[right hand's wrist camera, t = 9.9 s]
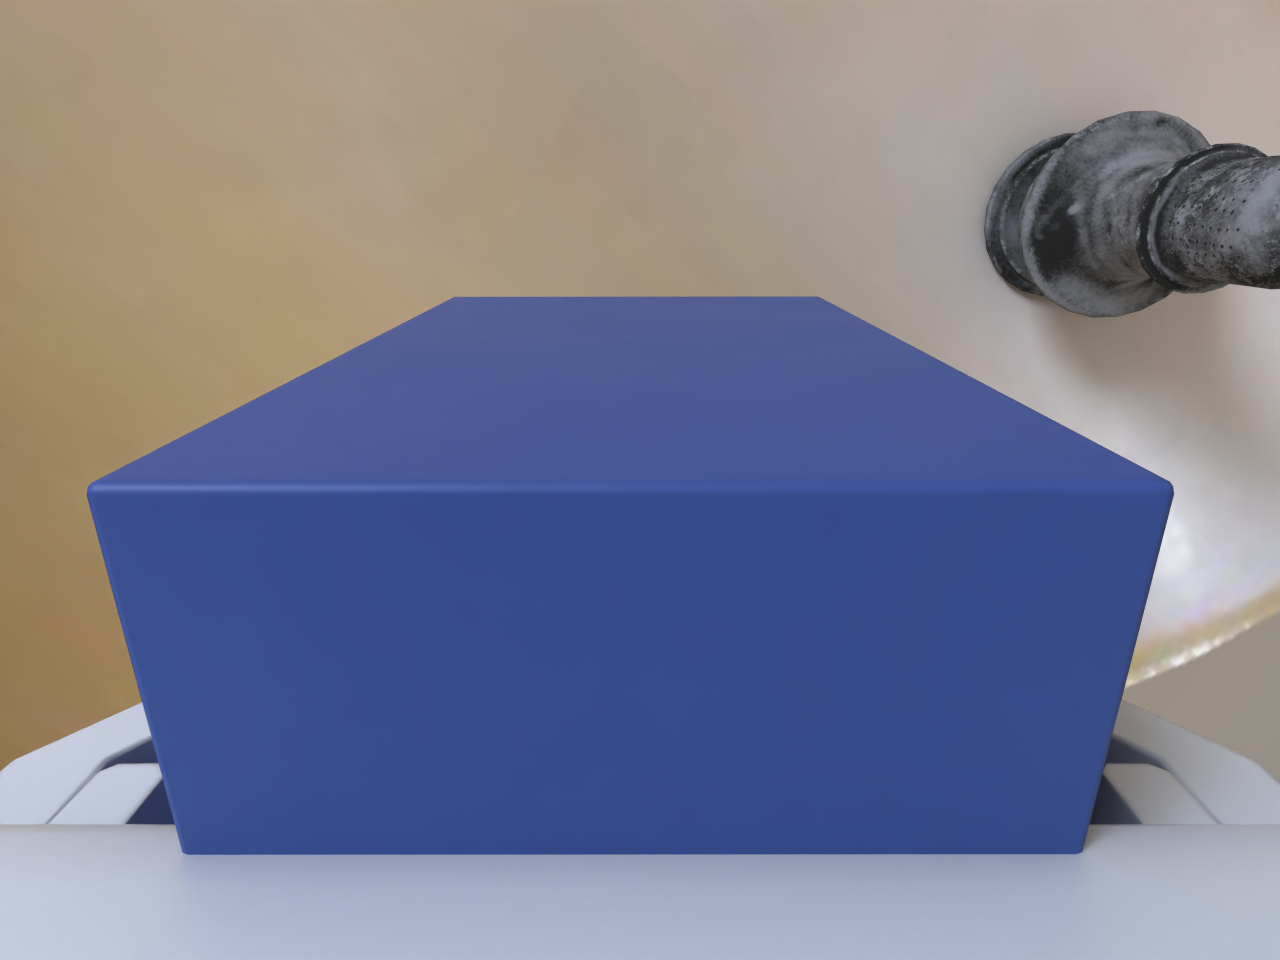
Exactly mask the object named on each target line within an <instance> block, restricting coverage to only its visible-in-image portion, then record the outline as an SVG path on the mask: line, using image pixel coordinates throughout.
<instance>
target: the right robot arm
mask: <svg viewBox="0 0 1280 960" xmlns="http://www.w3.org/2000/svg"><path fill="white" fill-rule="evenodd" d="M0 960H1280V781H1278V780H1277V779H1276V778H1275V777H1274V776H1273V775H1272V774H1271V773H1270V772H1269V771H1267V770H1266V769H1265V768H1264V767H1263V766H1262V765H1261V764H1260V763H1259V762H1258V761H1255V760H1253V759H1251V758H1249V757H1247V756H1244V755H1242V754H1240V753H1238V752H1236V751H1234V750H1231V749H1229V748H1227V747H1225V746H1223V745H1220V744H1218V743H1216V742H1214V741H1211V740H1209V739H1207V738H1205V737H1203V736H1201V735H1198V734H1196V733H1194V732H1192V731H1190V730H1187V729H1185V728H1183V727H1181V726H1179V725H1176V724H1174V723H1172V722H1170V721H1168V720H1166V719H1163V718H1161V717H1159V716H1157V715H1155V714H1152V713H1150V712H1148V711H1146V710H1143V709H1141V708H1139V707H1137V706H1135V705H1133V704H1130V703H1128V702H1126V701H1124V700H1122V699H1121V703H1120V707H1119V711H1118V714H1117V718H1116V722H1115V726H1114V730H1113V734H1112V738H1111V742H1110V746H1109V750H1108V754H1107V757H1106V761H1105V765H1104V769H1103V773H1102V777H1101V781H1100V785H1099V789H1098V793H1097V797H1096V800H1095V804H1094V808H1093V812H1092V816H1091V820H1090V824H1089V828H1088V832H1087V836H1086V840H1085V843H1084V847H1083V851H1082V852H1081V853H1078V854H711V855H187V854H185V853H182V849H181V845H180V842H179V838H178V834H177V830H176V827H175V823H174V819H173V816H172V812H171V808H170V804H169V801H168V797H167V793H166V789H165V786H164V782H163V778H162V774H161V771H160V767H159V763H158V759H157V756H156V752H155V748H154V744H153V741H152V737H151V733H150V730H149V726H148V722H147V718H146V715H145V711H144V707H143V703H139V704H137V705H135V706H133V707H131V708H128V709H126V710H124V711H122V712H119V713H117V714H115V715H113V716H111V717H108V718H106V719H104V720H102V721H99V722H97V723H95V724H93V725H91V726H88V727H86V728H84V729H82V730H79V731H77V732H75V733H73V734H71V735H68V736H66V737H64V738H62V739H59V740H57V741H55V742H53V743H51V744H48V745H46V746H44V747H42V748H39V749H37V750H35V751H33V752H31V753H28V754H26V755H24V756H22V757H19V758H17V759H15V760H13V761H12V762H11V763H10V764H8V765H7V766H6V767H5V768H4V769H3V770H2V771H1V772H0Z"/></svg>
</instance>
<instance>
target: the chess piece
mask: <svg viewBox="0 0 1280 960" xmlns="http://www.w3.org/2000/svg"><path fill="white" fill-rule="evenodd" d="M984 232H985V240H986V247H987V251H988V253H989V256H990V258H991V260H992V262H993V265H994V267H995V268H996V269H997V270H998V272H999V273H1000V274H1001V275H1002V276H1003V277H1004V278H1005V280H1006V281H1008V282H1009V283H1011V284H1012V285H1014V286H1016V287H1017V288H1019V289H1021V290H1022V291H1026V292H1030V293H1034V294H1038V295H1042V296H1046V297H1047V298H1048V299H1049V300H1051V301H1052V302H1054V303H1055V304H1057V305H1059V306H1060V307H1062V308H1064V309H1065V310H1067V311H1070V312H1074V313H1077V314H1081V315H1085V316H1089V317H1118V316H1121V315H1125V314H1129V313H1132V312H1136V311H1140V310H1143V309H1145V308H1146V307H1148V306H1150V305H1152V304H1154V303H1156V302H1158V301H1159V300H1161V299H1163V298H1165V297H1167V296H1168V295H1169V294H1170V293H1171V292H1173V291H1176V292H1180V293H1185V294H1186V293H1205V292H1208V291H1212V290H1215V289H1219V288H1222V287H1224V286H1226V285H1228V284H1236V285H1243V286H1251V287H1258V288H1266V289H1280V156H1267V155H1265V154H1264V153H1262V152H1261V151H1259V150H1258V149H1256V148H1254V147H1250V146H1247V145H1243V144H1239V143H1230V144H1215V145H1212V146H1210V144H1209V143H1208V142H1207V140H1206V139H1205V137H1204V136H1203V135H1202V133H1201V132H1200V131H1198V130H1197V129H1195V128H1194V127H1193V126H1191V125H1190V124H1188V123H1187V122H1185V121H1184V120H1182V119H1181V118H1179V117H1175V116H1172V115H1168V114H1165V113H1161V112H1157V111H1131V112H1124V113H1121V114H1118V115H1114V116H1111V117H1108V118H1104V119H1101V120H1098V121H1097V122H1095V123H1093V124H1092V125H1090V126H1088V127H1086V128H1085V129H1083V130H1081V131H1080V132H1078V133H1069V134H1063V135H1059V136H1056V137H1053V138H1050V139H1046V140H1043V141H1042V142H1040V143H1038V144H1037V145H1035V146H1033V147H1032V148H1030V149H1028V150H1027V151H1025V152H1024V153H1022V154H1021V155H1020V156H1019V157H1018V158H1017V159H1016V160H1015V161H1014V162H1013V163H1012V164H1011V165H1010V166H1009V167H1008V168H1007V169H1006V171H1005V172H1004V174H1003V175H1002V177H1001V178H1000V180H999V181H998V183H997V184H996V186H995V188H994V190H993V193H992V195H991V198H990V201H989V203H988V206H987V210H986V218H985V226H984Z"/></svg>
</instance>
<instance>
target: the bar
mask: <svg viewBox="0 0 1280 960" xmlns="http://www.w3.org/2000/svg"><path fill="white" fill-rule="evenodd" d="M1173 496H1174V491H1173V486H1172V484H1171V483H1170V482H1169V481H1167V480H1165V479H1164V478H1162V477H1160V476H1158V475H1156V474H1154V473H1152V472H1150V471H1148V470H1146V469H1145V468H1143V467H1141V466H1139V465H1137V464H1135V463H1133V462H1131V461H1129V460H1127V459H1126V458H1124V457H1122V456H1120V455H1118V454H1116V453H1114V452H1112V451H1110V450H1108V449H1107V448H1105V447H1103V446H1101V445H1099V444H1097V443H1095V442H1093V441H1091V440H1089V439H1088V438H1086V437H1084V436H1082V435H1080V434H1078V433H1076V432H1074V431H1072V430H1070V429H1069V428H1067V427H1065V426H1063V425H1061V424H1059V423H1057V422H1055V421H1053V420H1051V419H1050V418H1048V417H1046V416H1044V415H1042V414H1040V413H1038V412H1036V411H1034V410H1032V409H1031V408H1029V407H1027V406H1025V405H1023V404H1021V403H1019V402H1017V401H1015V400H1013V399H1012V398H1010V397H1008V396H1006V395H1004V394H1002V393H1000V392H998V391H996V390H994V389H993V388H991V387H989V386H987V385H985V384H983V383H981V382H979V381H977V380H975V379H974V378H972V377H970V376H968V375H966V374H964V373H962V372H960V371H958V370H956V369H955V368H953V367H951V366H949V365H947V364H945V363H943V362H941V361H939V360H937V359H936V358H934V357H932V356H930V355H928V354H926V353H924V352H922V351H920V350H918V349H917V348H915V347H913V346H911V345H909V344H907V343H905V342H903V341H901V340H900V339H898V338H896V337H894V336H892V335H890V334H888V333H886V332H884V331H882V330H881V329H879V328H877V327H875V326H873V325H871V324H869V323H867V322H865V321H863V320H862V319H860V318H858V317H856V316H854V315H852V314H850V313H848V312H846V311H844V310H843V309H841V308H839V307H837V306H835V305H833V304H831V303H829V302H827V301H825V300H824V299H822V298H820V297H454V298H452V299H450V300H448V301H446V302H444V303H442V304H440V305H438V306H436V307H434V308H432V309H430V310H428V311H426V312H424V313H422V314H420V315H418V316H417V317H415V318H413V319H411V320H409V321H407V322H405V323H403V324H401V325H399V326H397V327H395V328H393V329H391V330H389V331H387V332H385V333H383V334H381V335H379V336H377V337H376V338H374V339H372V340H370V341H368V342H366V343H364V344H362V345H360V346H358V347H356V348H354V349H352V350H350V351H348V352H346V353H344V354H342V355H340V356H338V357H336V358H335V359H333V360H331V361H329V362H327V363H325V364H323V365H321V366H319V367H317V368H315V369H313V370H311V371H309V372H307V373H305V374H303V375H301V376H299V377H297V378H295V379H294V380H292V381H290V382H288V383H286V384H284V385H282V386H280V387H278V388H276V389H274V390H272V391H270V392H268V393H266V394H264V395H262V396H260V397H258V398H256V399H254V400H253V401H251V402H249V403H247V404H245V405H243V406H241V407H239V408H237V409H235V410H233V411H231V412H229V413H227V414H225V415H223V416H221V417H219V418H217V419H215V420H213V421H212V422H210V423H208V424H206V425H204V426H202V427H200V428H198V429H196V430H194V431H192V432H190V433H188V434H186V435H184V436H182V437H180V438H178V439H176V440H174V441H172V442H171V443H169V444H167V445H165V446H163V447H161V448H159V449H157V450H155V451H153V452H151V453H149V454H147V455H145V456H143V457H141V458H139V459H137V460H135V461H133V462H131V463H130V464H128V465H126V466H124V467H122V468H120V469H118V470H116V471H114V472H112V473H110V474H108V475H106V476H104V477H102V478H100V479H98V480H96V481H94V482H92V483H91V484H90V485H89V487H88V491H87V498H88V501H89V505H90V509H91V513H92V516H93V520H94V524H95V528H96V531H97V535H98V539H99V543H100V546H101V550H102V554H103V558H104V561H105V565H106V569H107V572H108V576H109V580H110V584H111V587H112V591H113V595H114V599H115V602H116V606H117V610H118V614H119V617H120V621H121V625H122V629H123V632H124V636H125V640H126V644H127V647H128V651H129V655H130V658H131V662H132V666H133V670H134V673H135V677H136V681H137V685H138V688H139V692H140V696H141V700H142V703H143V707H144V711H145V715H146V718H147V722H148V726H149V730H150V733H151V737H152V741H153V744H154V748H155V752H156V756H157V759H158V763H159V767H160V771H161V774H162V778H163V782H164V786H165V789H166V793H167V797H168V801H169V804H170V808H171V812H172V816H173V819H174V823H175V827H176V830H177V834H178V838H179V842H180V845H181V849H182V853H185V854H187V855H711V854H1078V853H1081V852H1082V851H1083V847H1084V843H1085V840H1086V836H1087V832H1088V828H1089V824H1090V820H1091V816H1092V812H1093V808H1094V804H1095V800H1096V797H1097V793H1098V789H1099V785H1100V781H1101V777H1102V773H1103V769H1104V765H1105V761H1106V757H1107V754H1108V750H1109V746H1110V742H1111V738H1112V734H1113V730H1114V726H1115V722H1116V718H1117V714H1118V711H1119V707H1120V703H1121V699H1122V695H1123V691H1124V687H1125V683H1126V679H1127V675H1128V672H1129V668H1130V664H1131V660H1132V656H1133V652H1134V648H1135V644H1136V640H1137V636H1138V632H1139V629H1140V625H1141V621H1142V617H1143V613H1144V609H1145V605H1146V601H1147V597H1148V593H1149V589H1150V586H1151V582H1152V578H1153V574H1154V570H1155V566H1156V562H1157V558H1158V554H1159V550H1160V547H1161V543H1162V539H1163V535H1164V531H1165V527H1166V523H1167V519H1168V515H1169V511H1170V507H1171V504H1172V500H1173Z"/></svg>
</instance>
